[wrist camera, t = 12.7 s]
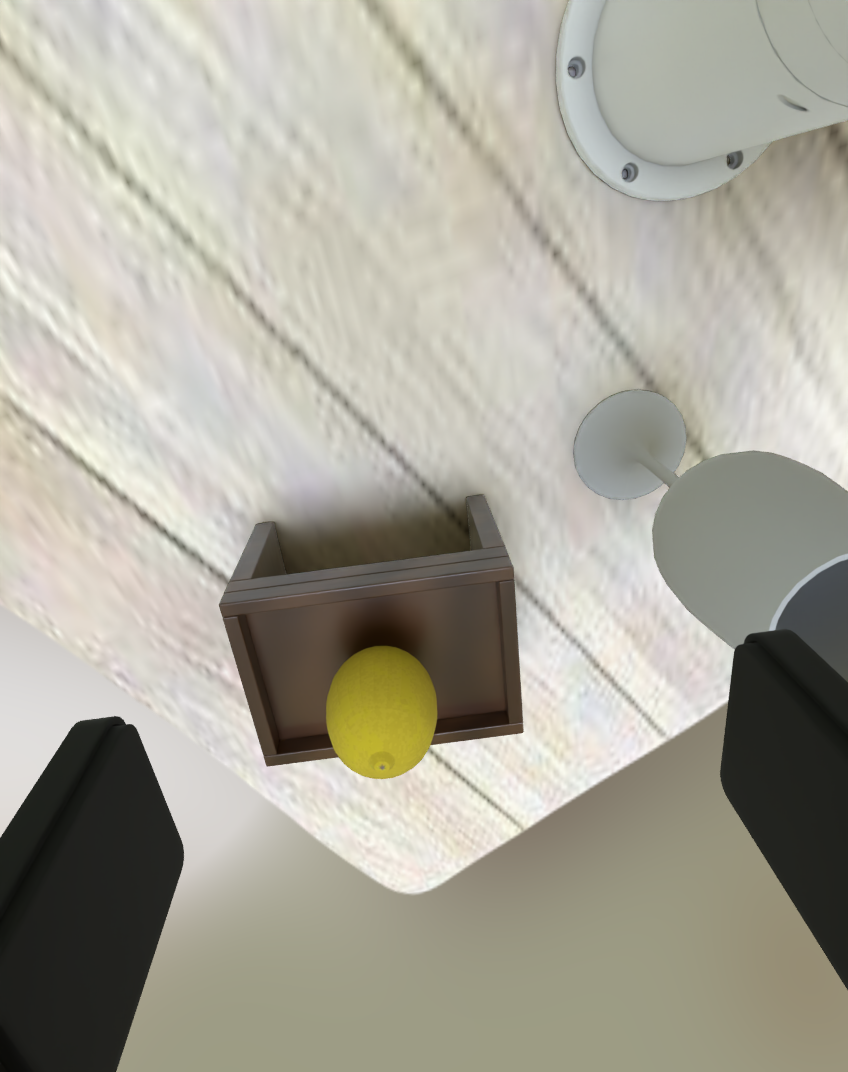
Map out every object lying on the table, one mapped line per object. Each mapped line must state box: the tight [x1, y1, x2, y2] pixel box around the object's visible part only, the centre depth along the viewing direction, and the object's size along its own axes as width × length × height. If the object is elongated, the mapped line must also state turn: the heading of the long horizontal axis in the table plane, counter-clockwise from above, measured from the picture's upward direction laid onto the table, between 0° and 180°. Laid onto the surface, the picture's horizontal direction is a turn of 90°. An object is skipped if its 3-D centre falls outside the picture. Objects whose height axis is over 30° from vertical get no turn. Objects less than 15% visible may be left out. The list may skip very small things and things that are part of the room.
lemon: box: [326, 646, 437, 779], centre depth 31 cm, size 6×6×8 cm
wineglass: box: [573, 389, 848, 682], centre depth 30 cm, size 8×8×21 cm
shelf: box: [219, 495, 523, 766], centre depth 38 cm, size 15×11×10 cm
